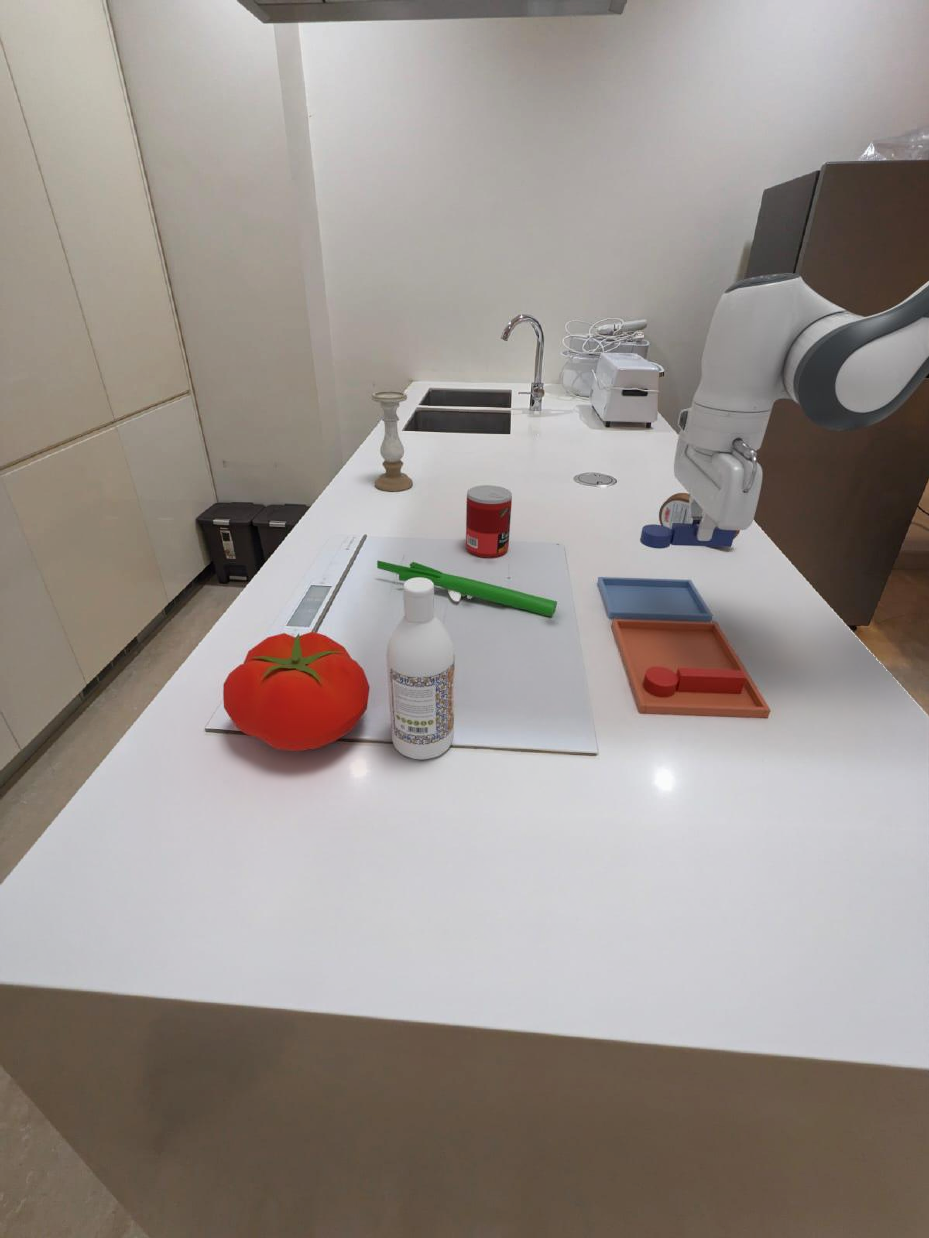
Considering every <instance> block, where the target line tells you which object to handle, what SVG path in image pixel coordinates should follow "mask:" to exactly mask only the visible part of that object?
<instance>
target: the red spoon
mask: <svg viewBox="0 0 929 1238" xmlns="http://www.w3.org/2000/svg"><path fill="white" fill-rule="evenodd" d="M745 681H746V676H745V674H744V673H743V671H742V670H724V669H697V668H678V669H677V673H675V672H673V671H672V670H670V669H668V668H665V667H658V666H656V667H651V668H649V669H647V670H646V673H645V677H644V681H643V687H644V688H645V690H646V691H647V692H649V693H650V694H652V695H655V696H658V697H669V696H672V695H673V694H674V693H675V691H677V692H703V693H730V694H741V692H742V689H743V686H744V684H745Z"/></svg>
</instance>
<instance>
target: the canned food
mask: <svg viewBox="0 0 929 1238" xmlns="http://www.w3.org/2000/svg"><path fill="white" fill-rule="evenodd" d="M512 501H513V493H512V492H511V490H509V489H507V488H505V487H503V486H499V485H490V484H489V485H488V484H487V485H486V484H485V485H484V484H483V485H476V486H473V487H470V488H469V489H468V490H467V491H466V505H465V506H466V509H465V510H466V512H465V515H466V516H465V517H466V518H465V547H466V549H467V551H468V552H469V553H470V554H471V555H473V556H475V557H479V558H486V559H489V558H490V559H491V558H498V557H501V556H504V555H505V554H506V553H507V552H508V550H509V546H510V531H511V517H512V503H513V502H512Z"/></svg>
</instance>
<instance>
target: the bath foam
mask: <svg viewBox="0 0 929 1238" xmlns="http://www.w3.org/2000/svg"><path fill="white" fill-rule="evenodd" d="M402 591H403V592H402V593H403V612H404V615H403V617H402V618H401V620H400V621H399V622H398V623H397V625H396V626H395V628H394V629H393V631H392V633H391V635H390V637H389V640H388V642H387V648H386V672H387V685H388V687H387V689H388V700H389V714H390V716H389V717H390V729H391V740H392V745H393V746H394V748H395V749H396V750H397V752H398V753H400V754H401V755H403V756H405V757H407V758H410V759H413V760H429V759H430V760H431V759H434V758H437V757H439V756H441V755H442V754H444V753H445V752H447V751H448V750H449V748H450V747H451V746H452V744H453V741H454V736H455V735H454V734H455V733H454V732H455V667H456V665H455V662H456V661H455V660H456V659H455V656H456V655H455V649H454V643H453V640H452V638H451V636H450V635H451V634H449V632H448V630H447V628H446V627H445V626H444V624H443V623H442V622H441V621H440V619H439V618H438V617H437V616H436V615H435V586H434V584H433V582H432V581H431V580H429V579H427V578H421V577H418V578H411V579H409V580H407V581H404V583H403V586H402Z"/></svg>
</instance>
